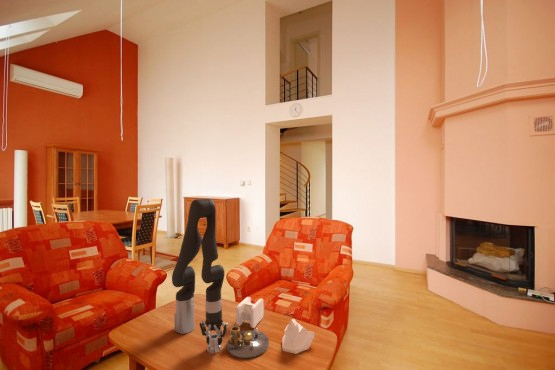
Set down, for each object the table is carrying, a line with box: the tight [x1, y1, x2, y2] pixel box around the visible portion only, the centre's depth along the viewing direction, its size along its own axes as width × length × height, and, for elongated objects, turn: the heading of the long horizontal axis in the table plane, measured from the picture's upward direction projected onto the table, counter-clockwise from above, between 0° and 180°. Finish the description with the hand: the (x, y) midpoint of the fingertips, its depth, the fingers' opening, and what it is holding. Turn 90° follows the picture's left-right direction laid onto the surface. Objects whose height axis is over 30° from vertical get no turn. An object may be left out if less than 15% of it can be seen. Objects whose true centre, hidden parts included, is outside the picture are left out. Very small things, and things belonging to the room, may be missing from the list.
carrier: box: [226, 327, 270, 360], centre depth 126 cm, size 20×20×6 cm
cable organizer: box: [235, 296, 265, 329], centre depth 147 cm, size 15×11×12 cm
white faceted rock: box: [281, 318, 316, 355], centre depth 124 cm, size 12×15×14 cm
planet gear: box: [206, 332, 223, 354], centre depth 123 cm, size 6×6×6 cm
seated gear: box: [228, 325, 242, 345], centre depth 127 cm, size 6×6×6 cm
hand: (214, 344), depth 123 cm, fingers closed on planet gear, 4 cm apart
